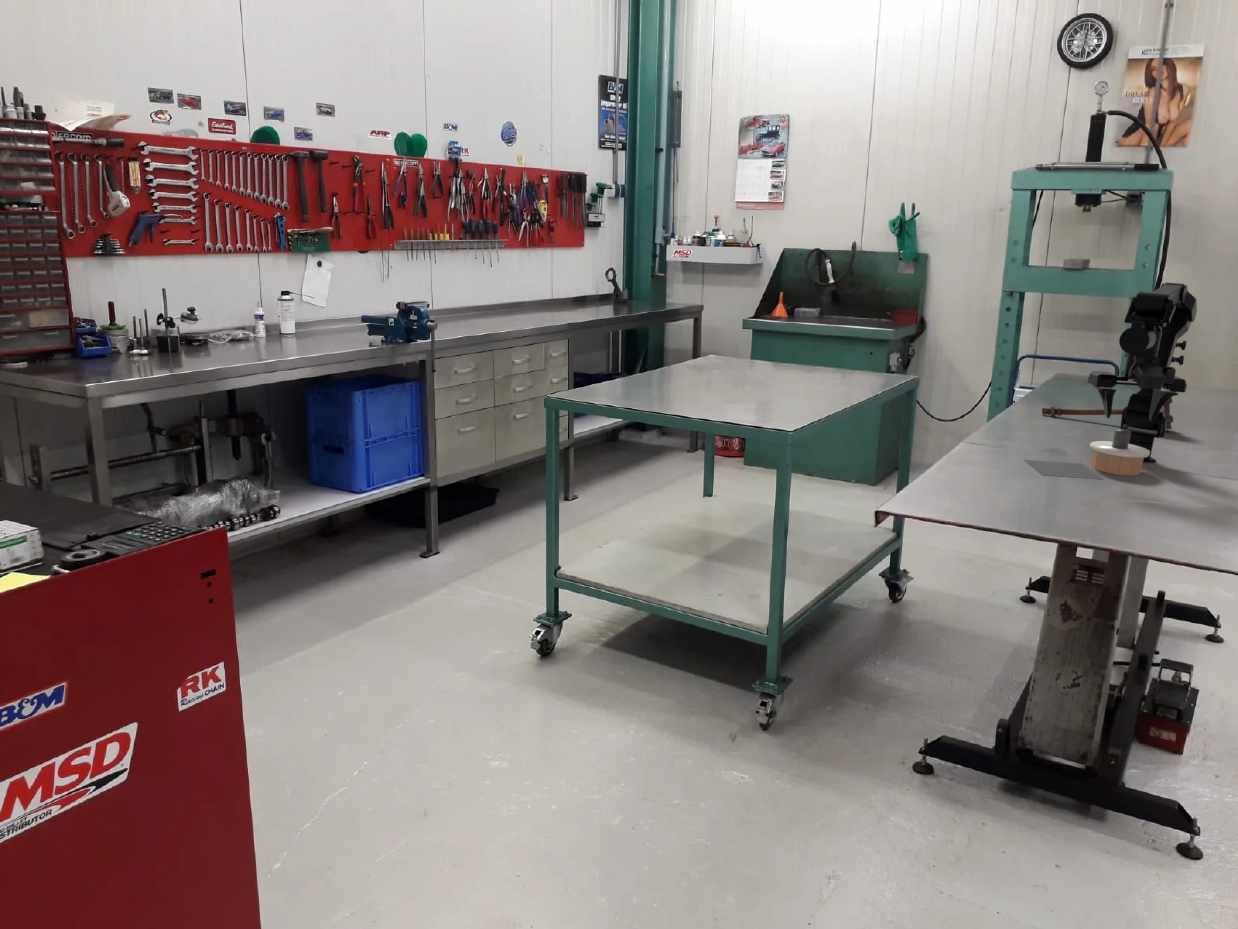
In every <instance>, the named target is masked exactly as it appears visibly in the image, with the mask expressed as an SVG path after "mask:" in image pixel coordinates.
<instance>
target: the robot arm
mask: <svg viewBox="0 0 1238 929" xmlns="http://www.w3.org/2000/svg"><path fill="white" fill-rule="evenodd" d="M1197 303H1198V302H1197V298H1196V297H1195V296H1194V295H1193V294H1192V293H1190V292H1189V290H1188V285H1186V284H1185V283H1178V282H1177V283H1176V282H1165V283H1163V282H1162V284H1161V285H1160V287H1158V288H1157V289H1154V291H1139V292H1137V293H1136V296H1134V295H1133V297H1132V299H1131V301H1130V305H1129V307H1128V310H1127V313H1126V315H1125V319H1124V323H1125V324H1130V325H1131V326H1130V327H1129V328H1126V329H1125V330H1123V332H1122V333H1121V334H1120V336H1119V338H1118V340H1119V342H1118V343H1119V347H1120V349H1122V350H1123V351H1124V352H1125V353H1124V357H1125V358H1126V360H1125V364H1124V365H1125V366H1124V370H1121V374H1120V375H1117V374H1115V373H1112V372H1110V371H1104V370H1103V371H1101V370H1092V371H1091V372H1090V373H1089V375H1088V378H1087V383H1088V384H1091V385H1092V387H1093V388H1095V389H1097V391H1098V394H1099V396H1100V398H1101V402H1102V407H1103V410H1104V411H1105V415H1104V416H1105V418H1106V419H1110V418H1111V416H1112V415H1111V410H1112V408H1113V403H1114V402H1113V400H1114V396H1115V394H1116V392H1117V389H1115V388H1114V387H1115V386H1116V385H1123V386H1124V385H1125V386H1135V387H1136V386H1137V387H1138V388H1140V390H1138V391H1137V392H1136V393H1132V394H1131V395H1130V397H1129V400H1128V403H1127V406H1125V407H1124V408H1123V409H1124V410H1123V413H1122V415H1121V420H1120V428H1119V429H1126V430H1130V431H1131V435H1130V440H1129V444H1132V445H1136V446H1140V447H1143V448H1145V449H1148V450H1149V451H1150V454H1149V456H1148V457H1145V458H1144V460H1143V462H1149V463H1157V459H1155V458H1153V457H1152V452H1153V446H1154V443H1155V438H1157V439H1160V438H1165V437H1166V432H1167V429H1166V418H1165V413H1164V406H1163V405H1164V403H1165V402H1166V401H1167V400H1168V399H1169V398H1172V397H1174V396H1178V395H1180V394H1179V393H1186V391H1187V390H1186V389H1187V385H1188V384H1187V383H1188V382H1187V380H1186V379H1185V378H1182V377H1179V376H1177V375H1176V371H1177V370H1176V368H1175V367H1174V366H1170V365H1171V362H1172V359H1173V355H1174V353H1175V349H1176V346H1177V343H1178V340H1179V339H1180V338H1181V337H1182V336H1184V335H1185V334H1186V333H1188V331H1189V329H1190V327H1191V324H1192V323H1194V321H1195V319H1196V317H1197V312H1198V307H1197Z"/></svg>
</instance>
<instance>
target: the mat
mask: <svg viewBox="0 0 1238 929" xmlns="http://www.w3.org/2000/svg"><path fill="white" fill-rule="evenodd" d="M1023 461H1024V462H1025V463H1026V464H1027V465H1029V466H1030V467H1031V468H1033V469H1034V471H1036V472H1037V473H1039V474H1040V475H1041V476H1047V477H1061V478H1062V477H1063V478H1076V479H1087V480H1088V479H1090V480H1101V481H1104V479H1105V478H1103V477H1101V476H1100V475H1098V474H1097V473H1096V472H1094V471H1093V470H1091V469H1090V468H1088V467H1087V466H1086V465H1084V464H1083V463H1076V462H1061V461H1047V460H1034V459H1033V460H1032V459H1023Z"/></svg>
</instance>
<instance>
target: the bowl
mask: <svg viewBox="0 0 1238 929" xmlns="http://www.w3.org/2000/svg"><path fill="white" fill-rule="evenodd" d="M1143 460H1144V458H1128V457H1119V456H1113V455H1108V454H1104V453H1100V452H1097V451H1094V450H1092V456H1091V460H1090V465H1089V466H1090V467H1091V468H1093V469H1094V470H1097V471H1100V472H1103V473H1109V474H1113V475H1121V476H1137V475H1140V474H1141V473H1142V470H1143V469H1142V468H1143V464H1144V463H1143V462H1144V461H1143Z"/></svg>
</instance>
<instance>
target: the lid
mask: <svg viewBox="0 0 1238 929" xmlns="http://www.w3.org/2000/svg"><path fill="white" fill-rule="evenodd" d="M1130 435H1131V431H1130V430H1126V429H1120V428H1115V429H1114V434H1113V440H1112V441H1110V440H1108V441H1107V440H1096V441H1092V442H1090V444H1089V449H1091V450H1092V451H1093V450H1094V451H1097V452H1100V453H1104V454H1108V455H1113V456H1119V457H1128V458H1145V457H1148V456H1149V454H1150V451H1149V450H1148V449H1145V448H1143V447H1140V446H1136V445H1132V444H1129V440H1130Z"/></svg>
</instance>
